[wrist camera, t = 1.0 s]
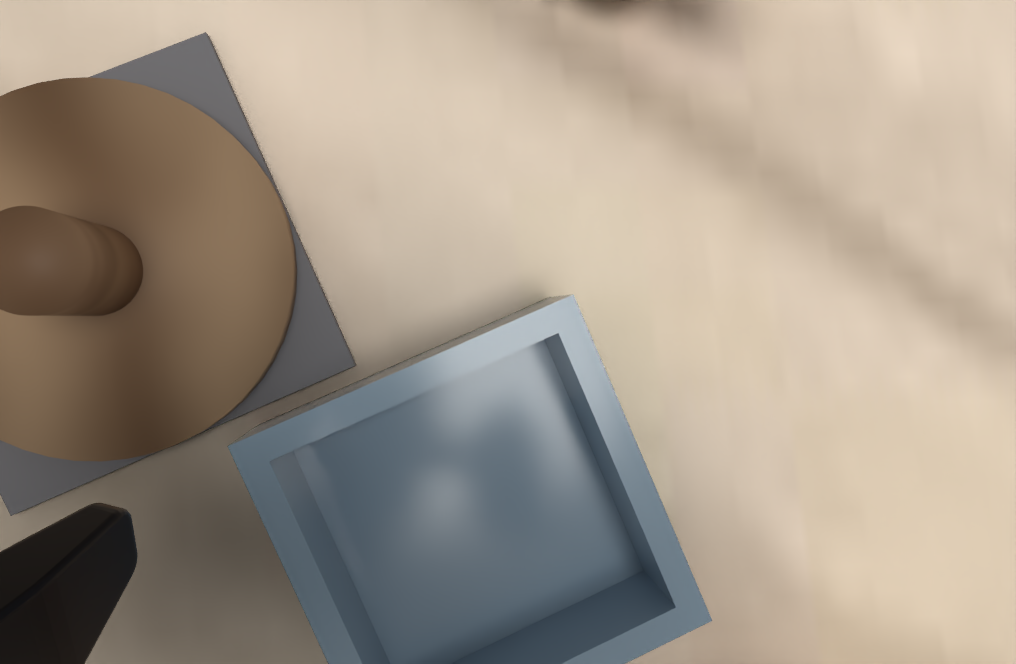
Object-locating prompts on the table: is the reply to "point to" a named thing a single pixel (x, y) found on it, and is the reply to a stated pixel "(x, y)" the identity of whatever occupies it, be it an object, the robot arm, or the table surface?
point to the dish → (475, 507)
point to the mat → (313, 327)
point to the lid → (131, 270)
